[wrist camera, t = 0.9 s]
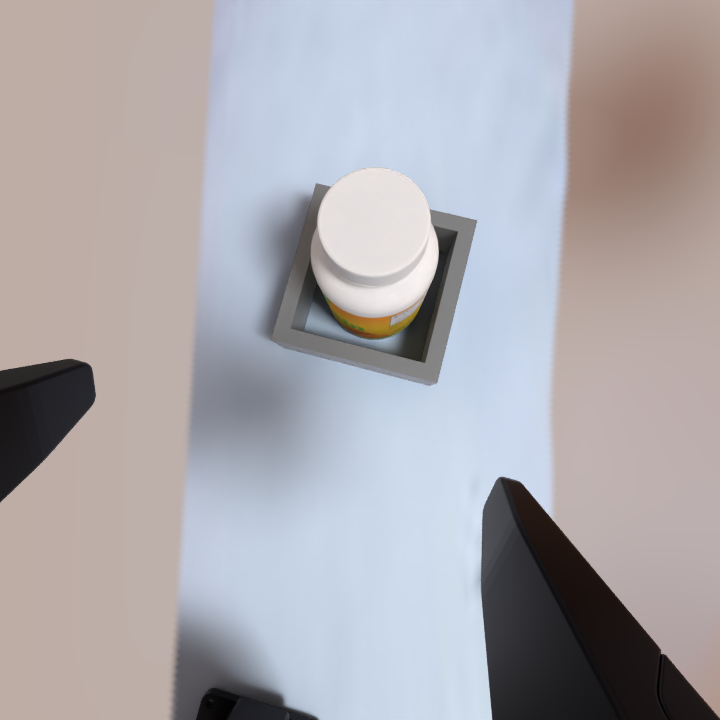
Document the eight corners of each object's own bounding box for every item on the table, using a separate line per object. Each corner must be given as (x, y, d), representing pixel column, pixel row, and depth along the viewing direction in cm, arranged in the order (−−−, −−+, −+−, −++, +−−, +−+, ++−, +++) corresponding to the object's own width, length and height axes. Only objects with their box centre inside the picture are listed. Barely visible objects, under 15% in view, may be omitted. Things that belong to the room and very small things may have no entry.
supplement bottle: (310, 293, 24) (263, 216, 14) (378, 232, 24) (378, 117, 14) (371, 360, 23) (367, 329, 13) (440, 298, 23) (485, 223, 14)
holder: (429, 385, 23) (437, 382, 20) (284, 347, 23) (270, 339, 20) (464, 243, 24) (477, 220, 21) (323, 210, 24) (316, 183, 21)
